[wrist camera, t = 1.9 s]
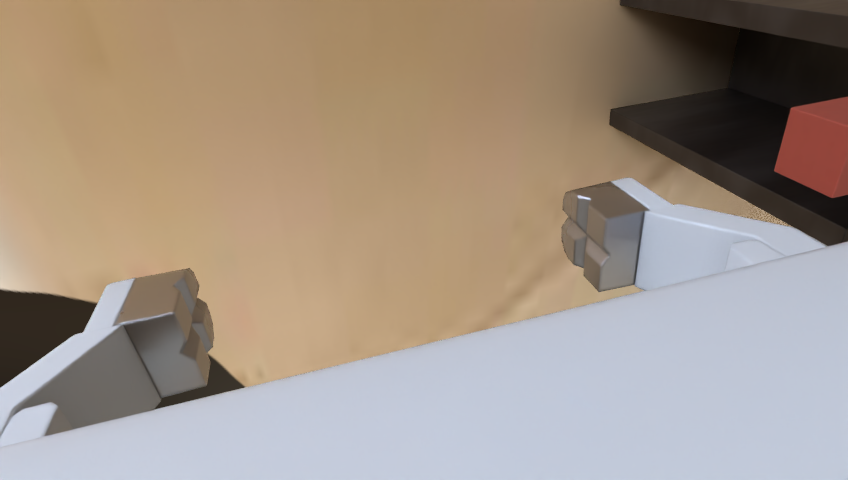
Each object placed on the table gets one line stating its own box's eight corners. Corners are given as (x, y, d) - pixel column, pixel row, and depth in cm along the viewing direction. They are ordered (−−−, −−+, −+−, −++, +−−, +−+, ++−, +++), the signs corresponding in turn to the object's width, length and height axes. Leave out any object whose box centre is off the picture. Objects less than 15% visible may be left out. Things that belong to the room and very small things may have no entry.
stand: (621, -15, 43) (978, 33, 21) (766, -36, 46) (1227, -12, 24) (608, 124, 50) (876, 273, 28) (737, 100, 52) (1080, 220, 30)
